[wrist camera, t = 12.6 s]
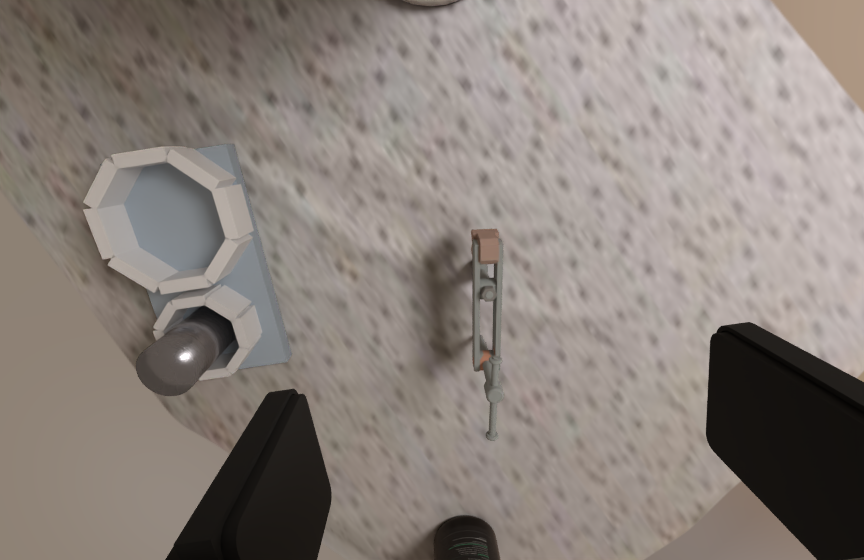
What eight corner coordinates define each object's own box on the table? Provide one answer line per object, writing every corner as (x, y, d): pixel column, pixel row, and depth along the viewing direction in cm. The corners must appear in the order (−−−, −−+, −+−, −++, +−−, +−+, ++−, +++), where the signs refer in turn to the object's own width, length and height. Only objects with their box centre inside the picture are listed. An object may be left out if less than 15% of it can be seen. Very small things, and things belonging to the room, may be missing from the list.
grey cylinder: (186, 307, 37) (126, 351, 29) (231, 299, 37) (183, 340, 29) (202, 348, 38) (149, 400, 31) (245, 340, 38) (203, 390, 31)
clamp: (466, 220, 37) (481, 258, 27) (492, 219, 37) (516, 257, 27) (467, 370, 42) (479, 444, 33) (489, 369, 42) (508, 443, 33)
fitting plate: (108, 160, 35) (64, 162, 31) (236, 139, 35) (210, 138, 30) (184, 370, 41) (156, 396, 36) (294, 353, 40) (279, 378, 36)
